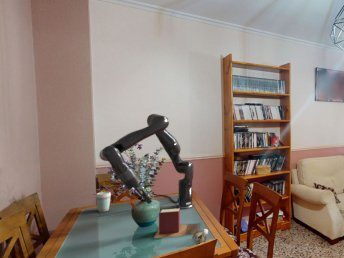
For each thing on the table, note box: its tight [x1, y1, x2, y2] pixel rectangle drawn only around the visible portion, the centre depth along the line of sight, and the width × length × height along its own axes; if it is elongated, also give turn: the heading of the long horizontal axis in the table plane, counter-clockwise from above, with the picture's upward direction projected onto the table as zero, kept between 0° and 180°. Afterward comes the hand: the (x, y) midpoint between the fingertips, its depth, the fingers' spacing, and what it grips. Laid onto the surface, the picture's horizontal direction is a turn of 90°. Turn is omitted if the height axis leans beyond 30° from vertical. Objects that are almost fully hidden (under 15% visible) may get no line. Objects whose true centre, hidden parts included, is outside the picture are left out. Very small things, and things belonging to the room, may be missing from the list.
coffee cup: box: [95, 191, 112, 213], centre depth 172 cm, size 8×8×12 cm
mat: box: [153, 223, 200, 239], centre depth 144 cm, size 22×14×1 cm, turn 106°
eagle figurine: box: [191, 228, 209, 246], centre depth 132 cm, size 8×7×9 cm
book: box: [158, 207, 181, 234], centre depth 142 cm, size 10×5×12 cm, turn 106°
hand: (150, 202), depth 139 cm, fingers closed
